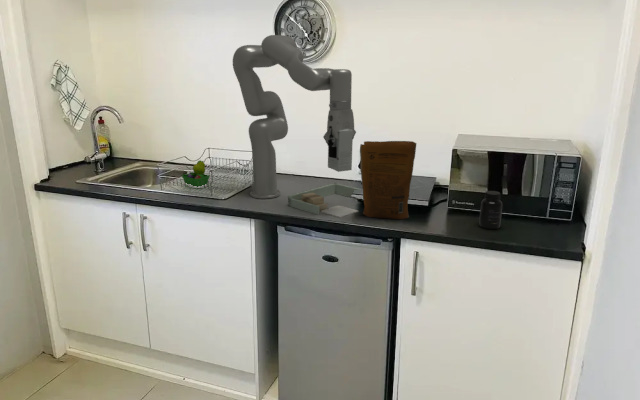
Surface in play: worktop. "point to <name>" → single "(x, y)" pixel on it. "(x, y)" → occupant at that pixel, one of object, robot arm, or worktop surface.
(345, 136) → the skincare box
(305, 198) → the top offcut
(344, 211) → the mat
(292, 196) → the tray
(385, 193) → the pancake mix bag
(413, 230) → the worktop surface
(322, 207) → the bottom offcut
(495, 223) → the supplement bottle
